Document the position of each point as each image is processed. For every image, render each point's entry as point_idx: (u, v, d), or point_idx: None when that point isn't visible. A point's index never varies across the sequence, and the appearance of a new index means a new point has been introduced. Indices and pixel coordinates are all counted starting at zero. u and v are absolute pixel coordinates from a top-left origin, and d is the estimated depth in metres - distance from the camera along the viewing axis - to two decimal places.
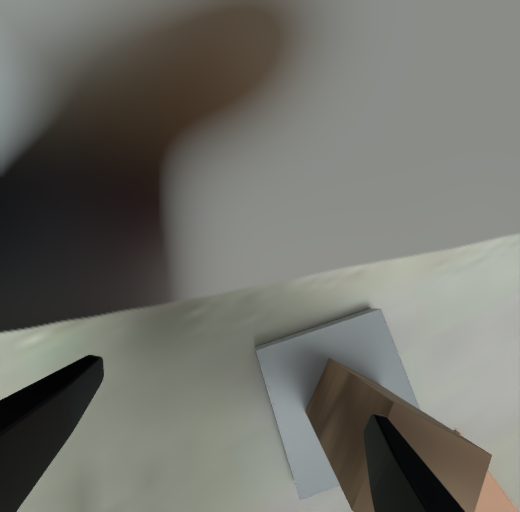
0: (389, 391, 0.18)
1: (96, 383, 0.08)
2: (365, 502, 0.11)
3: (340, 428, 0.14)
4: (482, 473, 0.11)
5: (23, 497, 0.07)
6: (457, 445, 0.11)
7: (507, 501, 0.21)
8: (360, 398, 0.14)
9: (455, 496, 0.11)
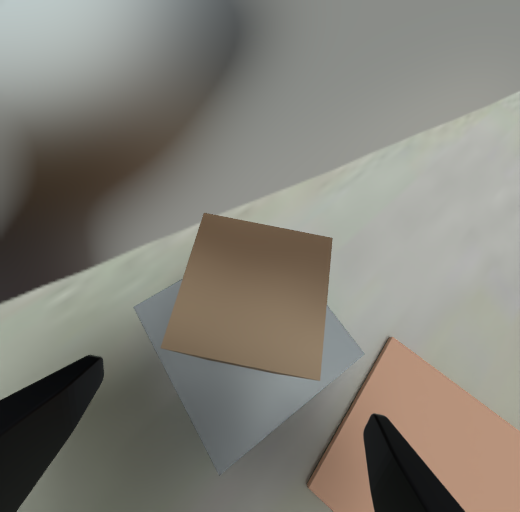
0: None
1: (96, 383, 0.08)
2: (179, 332, 0.07)
3: None
4: (328, 261, 0.09)
5: (24, 497, 0.07)
6: (289, 237, 0.09)
7: (465, 395, 0.18)
8: None
9: (299, 293, 0.08)
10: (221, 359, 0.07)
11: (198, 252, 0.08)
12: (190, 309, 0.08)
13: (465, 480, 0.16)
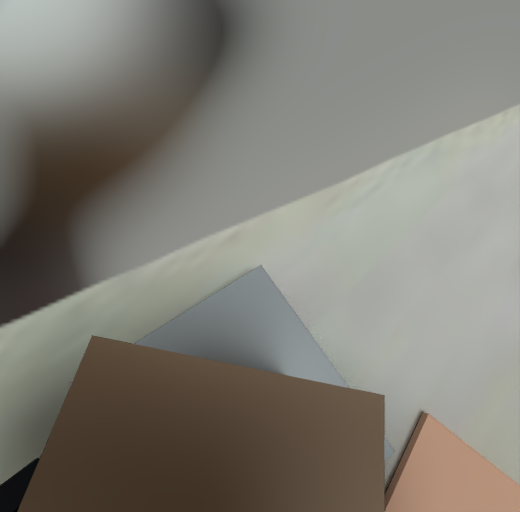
0: None
1: None
2: None
3: None
4: (379, 460, 0.04)
5: None
6: (286, 399, 0.04)
7: None
8: None
9: None
10: None
11: (59, 455, 0.03)
12: None
13: None
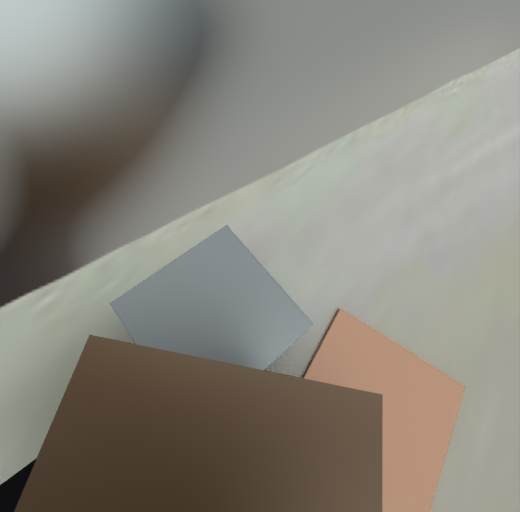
0: None
1: None
2: None
3: None
4: (377, 460, 0.04)
5: None
6: (284, 399, 0.04)
7: (402, 350, 0.21)
8: None
9: None
10: None
11: (56, 454, 0.03)
12: None
13: (402, 418, 0.19)
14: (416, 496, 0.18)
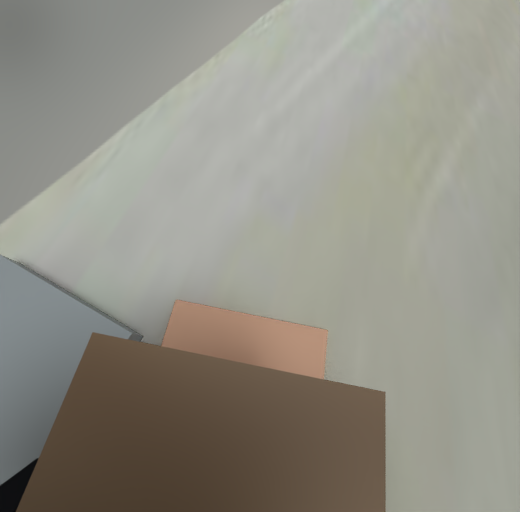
0: None
1: None
2: None
3: None
4: (380, 457, 0.04)
5: None
6: (287, 397, 0.04)
7: (254, 318, 0.19)
8: None
9: None
10: None
11: (59, 451, 0.03)
12: None
13: None
14: None
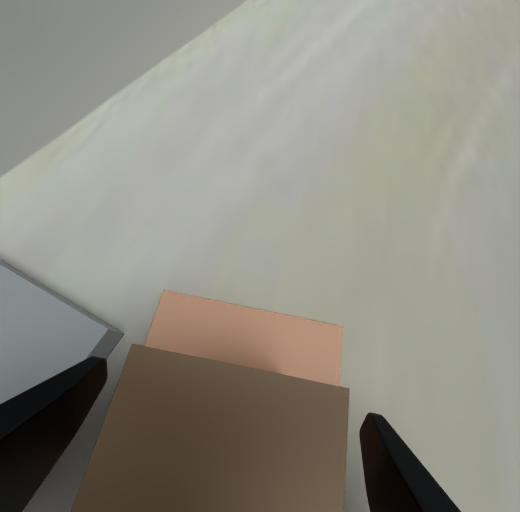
0: None
1: (100, 384, 0.08)
2: None
3: None
4: (344, 436, 0.05)
5: (28, 498, 0.07)
6: (276, 391, 0.05)
7: (256, 313, 0.16)
8: None
9: None
10: None
11: (113, 430, 0.05)
12: None
13: None
14: None
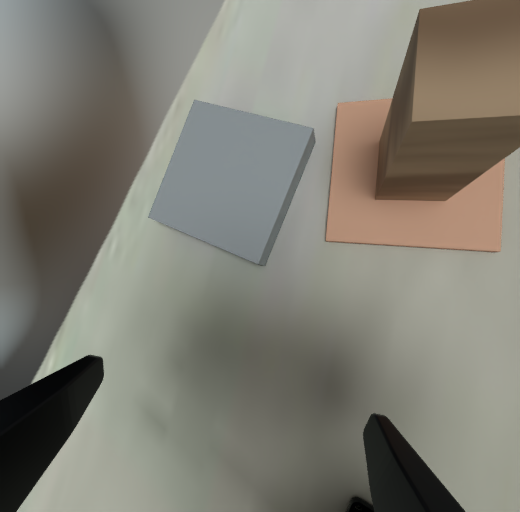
0: None
1: (96, 383, 0.08)
2: (424, 108, 0.10)
3: (395, 130, 0.13)
4: None
5: (24, 497, 0.07)
6: (517, 1, 0.09)
7: None
8: (401, 81, 0.13)
9: None
10: (465, 118, 0.09)
11: (423, 44, 0.10)
12: (429, 89, 0.10)
13: None
14: (483, 213, 0.17)
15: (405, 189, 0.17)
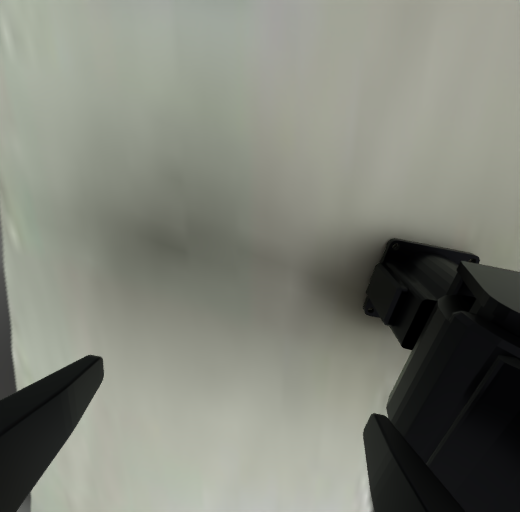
0: None
1: (96, 383, 0.08)
2: None
3: None
4: None
5: (24, 497, 0.07)
6: None
7: None
8: None
9: None
10: None
11: None
12: None
13: None
14: None
15: None
